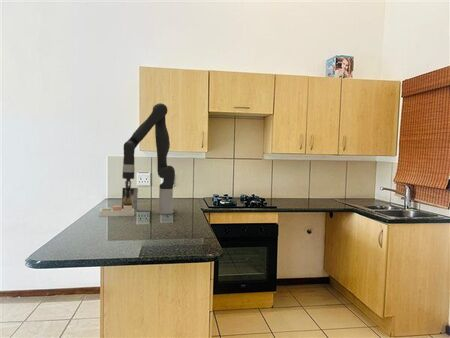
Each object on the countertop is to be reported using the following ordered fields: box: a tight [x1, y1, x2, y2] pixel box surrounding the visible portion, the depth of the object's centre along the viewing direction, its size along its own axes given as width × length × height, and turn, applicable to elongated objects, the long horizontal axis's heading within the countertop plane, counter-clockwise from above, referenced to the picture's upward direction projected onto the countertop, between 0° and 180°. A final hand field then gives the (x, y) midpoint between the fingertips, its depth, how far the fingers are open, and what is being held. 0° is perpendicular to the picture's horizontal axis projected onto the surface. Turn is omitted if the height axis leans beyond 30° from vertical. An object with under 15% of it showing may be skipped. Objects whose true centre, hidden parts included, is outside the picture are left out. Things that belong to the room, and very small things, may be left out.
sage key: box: [101, 206, 112, 211], centre depth 205 cm, size 5×5×3 cm
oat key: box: [123, 206, 132, 210], centre depth 209 cm, size 5×5×3 cm
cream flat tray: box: [99, 208, 135, 218], centre depth 207 cm, size 21×8×4 cm, turn 109°
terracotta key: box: [112, 205, 122, 211], centre depth 207 cm, size 5×5×3 cm
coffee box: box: [121, 187, 139, 212], centre depth 227 cm, size 9×6×16 cm
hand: (127, 197), depth 209 cm, fingers closed
